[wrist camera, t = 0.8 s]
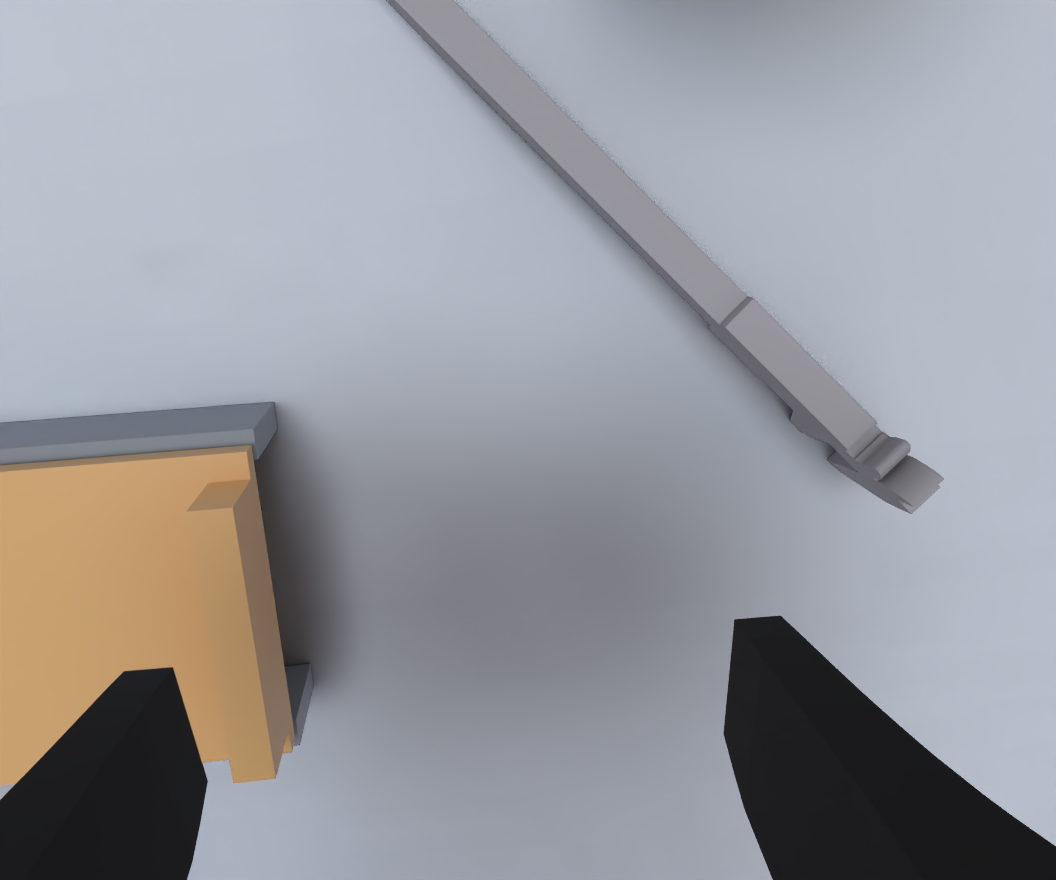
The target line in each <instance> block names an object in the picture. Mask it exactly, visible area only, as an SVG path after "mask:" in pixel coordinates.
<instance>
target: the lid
mask: <svg viewBox="0 0 1056 880" xmlns="http://www.w3.org/2000/svg"><path fill="white" fill-rule="evenodd" d="M168 667H173V669H174V672H175V675H176V679H177V682H178V685H179V689H180V692H181V695H182V698H183V702H184V705H185V708H186V712H187V715H188V718H189V721H190V725H191V728H192V731H193V735H194V738H195V741H196V744H197V748H198V751H199V754H200V758H201V761H202V763H203V762H212V761H221V760H229V761H230V767H231V772H232V778H233V783H240V782H249V781H257V780H266V779H275V778H276V775H277V771H278V768H279V764H280V760H281V756H282V753H290V752H292V750H293V746H294V742H295V734H294V727H293V720H292V714H291V707H290V700H289V694H288V687H287V680H286V673H285V667H284V660H283V653H282V647H281V640H280V633H279V626H278V620H277V613H276V606H275V600H274V593H273V586H272V580H271V573H270V566H269V559H268V553H267V546H266V539H265V533H264V526H263V519H262V512H261V506H260V499H259V492H258V486H257V479H256V472H255V465H254V459H253V452H252V445H244V446H232V447H220V448H208V449H195V450H183V451H171V452H158V453H146V454H134V455H122V456H109V457H97V458H85V459H72V460H60V461H48V462H35V463H23V464H11V465H0V786H3V785H11V784H16V783H17V782H18V781H19V780H20V779H21V778H22V777H23V776H24V775H25V774H26V773H27V772H28V771H29V770H30V769H31V768H32V767H33V766H34V765H35V764H36V763H37V762H38V761H39V759H40V758H41V757H42V756H43V755H44V754H45V753H46V752H47V751H48V750H49V749H50V748H51V747H52V746H53V745H54V744H55V743H56V742H57V741H58V739H59V738H60V737H61V736H62V735H63V734H64V733H65V732H66V731H67V730H68V729H69V728H70V727H71V726H72V725H73V724H74V723H75V722H76V720H77V719H78V718H79V717H80V716H81V715H82V714H83V713H84V712H85V711H86V710H87V709H88V708H89V707H90V706H91V705H92V704H93V703H94V701H95V700H96V699H97V698H98V697H99V696H100V695H101V694H102V693H103V692H104V691H105V690H106V689H107V688H108V687H109V686H110V685H111V684H112V683H113V682H114V681H115V680H116V679H117V678H118V677H119V676H120V675H121V674H122V673H123V672H124V671H132V670H144V669H156V668H168Z"/></svg>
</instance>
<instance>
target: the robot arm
mask: <svg viewBox="0 0 1056 880" xmlns="http://www.w3.org/2000/svg"><path fill="white" fill-rule="evenodd" d="M724 737H725V740H726V744H727V748H728V752H729V755H730V759H731V763H732V767H733V770H734V774H735V778H736V781H737V785H738V788H739V792H740V795H741V799H742V802H743V805H744V809H745V811H746V814H747V816H748V819H749V821H750V824H751V827H752V829H753V832H754V834H755V837H756V839H757V842H758V844H759V847H760V849H761V851H762V854H763V856H764V859H765V861H766V864H767V866H768V869H769V871H770V874H771V876H772V879H773V880H1056V846H1054V845H1053V844H1051V843H1050V842H1049V841H1047V840H1046V839H1044V838H1043V837H1041V836H1040V835H1039V834H1037V833H1036V832H1034V831H1033V830H1031V829H1030V828H1029V827H1027V826H1026V825H1024V824H1023V823H1021V822H1020V821H1019V820H1017V819H1016V818H1014V817H1013V816H1012V815H1010V814H1009V813H1007V812H1006V811H1005V810H1003V809H1002V808H1001V807H999V806H998V805H997V804H995V803H994V802H993V801H991V800H990V799H989V798H987V797H986V796H985V795H983V794H982V793H981V792H979V791H978V790H977V789H976V788H974V787H973V786H972V785H971V784H969V783H968V782H967V781H966V780H964V779H963V778H962V777H961V776H959V775H958V774H957V773H956V772H954V771H953V770H952V769H951V768H949V767H948V766H947V765H945V764H944V763H943V762H942V761H940V760H939V759H938V758H937V757H936V756H934V755H933V754H932V753H931V752H930V751H928V750H927V749H926V748H925V747H924V746H922V745H921V744H920V743H919V742H918V741H916V740H915V739H914V738H913V737H912V736H911V735H910V734H909V733H907V732H906V731H905V730H904V729H903V728H902V727H901V726H899V725H898V724H897V723H896V722H895V721H894V720H893V719H891V718H890V717H889V716H888V715H887V714H886V713H885V712H883V711H882V710H881V709H880V708H879V707H878V706H877V705H876V704H874V703H873V702H872V701H871V700H870V699H869V698H868V697H867V696H866V695H865V694H863V693H862V692H861V691H860V690H859V689H858V688H857V687H856V686H855V685H854V684H853V683H852V682H850V681H849V680H848V679H847V678H846V677H845V676H844V675H843V674H842V673H841V672H840V671H839V670H838V669H837V668H835V667H834V666H833V665H832V664H831V663H830V662H829V661H828V660H827V659H826V658H825V657H824V656H823V655H822V654H821V653H820V652H819V651H818V650H816V649H815V648H814V647H813V646H812V645H811V644H810V643H809V642H808V641H807V640H806V639H805V638H804V637H803V636H802V635H801V634H800V633H799V632H797V631H796V630H795V629H794V628H793V627H792V626H791V625H790V624H789V623H788V622H787V621H786V620H785V619H783V618H782V617H781V616H771V617H759V618H747V619H735V620H734V631H733V641H732V652H731V662H730V673H729V683H728V694H727V704H726V714H725V725H724ZM207 782H208V781H207V777H206V774H205V771H204V767H203V764H202V761H201V758H200V754H199V751H198V748H197V744H196V741H195V738H194V735H193V731H192V728H191V725H190V721H189V718H188V715H187V712H186V708H185V705H184V702H183V698H182V695H181V692H180V689H179V685H178V682H177V679H176V675H175V672H174V669H173V667H168V668H156V669H144V670H132V671H124V672H123V673H122V674H121V675H120V676H119V677H118V678H117V679H116V680H115V681H114V682H113V683H112V684H111V685H110V686H109V687H108V688H107V689H106V690H105V691H104V692H103V693H102V694H101V695H100V696H99V697H98V698H97V699H96V700H95V701H94V703H93V704H92V705H91V706H90V707H89V708H88V709H87V710H86V711H85V712H84V713H83V714H82V715H81V716H80V717H79V718H78V719H77V720H76V722H75V723H74V724H73V725H72V726H71V727H70V728H69V729H68V730H67V731H66V732H65V733H64V734H63V735H62V736H61V737H60V738H59V739H58V741H57V742H56V743H55V744H54V745H53V746H52V747H51V748H50V749H49V750H48V751H47V752H46V753H45V754H44V755H43V756H42V757H41V758H40V759H39V761H38V762H37V763H36V764H35V765H34V766H33V767H32V768H31V769H30V770H29V771H28V772H27V773H26V774H25V775H24V776H23V777H22V778H21V779H20V780H19V781H18V782H17V783H16V784H15V785H14V786H13V787H12V788H11V789H10V790H9V791H8V792H7V793H6V794H5V795H4V796H3V797H2V798H1V799H0V880H187V877H188V874H189V871H190V868H191V864H192V860H193V856H194V851H195V846H196V841H197V836H198V831H199V826H200V821H201V815H202V810H203V804H204V799H205V793H206V787H207Z"/></svg>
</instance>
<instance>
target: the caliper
mask: <svg viewBox="0 0 1056 880" xmlns="http://www.w3.org/2000/svg"><path fill="white" fill-rule="evenodd" d="M386 1H387V2H388V3H389V4H390V5H391V6H392V7H393V8H394V9H395V10H396V11H397V12H398V13H399V14H400V15H401V16H402V17H403V18H404V20H405V21H406V22H407V23H408V24H409V25H410V26H411V27H412V28H413V29H414V30H415V31H416V32H417V33H418V34H419V35H420V36H421V37H422V38H423V39H424V40H425V41H426V42H427V43H428V44H429V45H430V46H431V47H432V48H433V49H434V50H435V51H436V52H437V53H438V54H439V55H440V56H441V57H442V58H443V59H444V60H445V61H446V62H447V63H448V64H449V65H450V66H451V67H452V68H453V69H454V70H455V71H456V72H457V73H458V74H459V75H460V76H461V77H462V78H463V79H464V80H465V81H466V82H467V83H468V84H469V85H470V86H471V87H472V88H473V89H474V90H475V91H476V92H477V93H478V94H479V95H480V96H481V97H482V98H483V99H484V100H485V101H486V102H487V103H488V104H489V105H490V106H491V107H492V108H493V109H494V110H495V111H496V112H497V113H498V114H499V115H500V116H501V117H502V118H503V119H504V120H505V121H506V122H507V123H508V124H509V125H510V126H511V127H512V128H513V129H514V130H515V131H516V132H517V133H518V134H519V135H520V136H521V137H522V138H523V139H524V140H525V141H526V142H527V143H528V144H529V145H530V146H531V147H532V148H533V149H534V150H535V151H536V152H537V153H538V154H539V155H540V156H541V157H542V158H543V159H544V160H545V161H546V162H547V163H548V164H549V165H550V166H551V167H552V168H553V169H554V170H555V171H556V172H557V173H558V174H559V175H560V176H561V177H562V178H563V179H564V180H565V181H566V182H567V183H568V184H569V185H570V186H571V187H572V188H573V189H574V190H575V191H576V192H577V193H578V194H579V195H580V196H581V197H582V198H583V199H584V200H585V201H586V202H587V203H588V204H589V205H590V206H591V207H592V208H593V209H594V210H595V211H596V212H597V213H598V214H599V215H600V216H601V217H602V218H603V219H604V220H605V221H606V222H607V223H608V224H609V225H610V226H611V227H612V228H613V229H614V230H615V231H616V232H617V233H618V234H619V235H620V236H621V237H622V238H623V239H624V240H625V241H626V242H627V243H628V244H629V245H630V246H631V247H632V248H633V249H634V250H635V251H636V252H637V253H638V254H639V255H640V256H641V257H642V258H643V259H644V260H645V261H646V262H647V263H648V264H649V265H650V266H651V267H652V268H653V269H654V270H655V271H656V272H657V273H658V274H659V275H660V276H661V277H662V278H663V279H664V280H665V281H666V282H667V283H668V284H669V285H670V286H671V287H672V288H673V289H674V290H675V291H676V292H677V293H678V294H679V295H680V296H681V297H682V298H683V299H684V300H685V301H686V302H687V303H688V304H689V305H690V306H691V307H692V308H693V309H694V310H695V311H696V312H697V313H698V314H699V315H700V316H701V317H702V318H703V319H704V320H705V321H706V322H707V323H708V324H709V326H708V328H709V329H710V330H711V332H712V333H713V334H714V335H715V336H717V337H718V338H719V339H720V340H721V341H722V342H723V343H724V344H725V345H726V346H727V347H728V348H729V349H730V350H731V351H732V352H733V353H734V354H735V355H736V356H737V357H738V358H739V359H740V360H741V361H742V362H743V363H744V364H745V365H746V366H747V367H748V368H749V369H750V370H751V371H752V372H753V373H754V374H755V375H756V376H757V377H758V378H760V379H761V380H762V381H763V382H764V383H765V384H766V385H767V386H768V387H769V388H770V389H771V390H773V391H774V392H775V393H776V394H777V395H778V396H779V397H780V398H781V399H782V400H783V401H784V402H785V403H786V404H787V405H788V406H789V407H790V408H791V409H792V410H793V413H792V416H791V419H790V421H791V423H792V424H793V425H794V426H795V427H796V428H797V429H798V430H799V431H800V432H802V433H805V434H806V435H808V436H810V437H812V438H815V439H818V440H820V441H823V442H824V441H825V442H827V443H829V444H830V445H831V446H832V447H833V448H834V449H835V450H836V451H835V452H834V453H833V454H832V455H831V456H830V457H829V458H828V459H827V460H828V461H829V462H830V463H831V464H832V465H833V466H835V467H836V468H837V469H838V470H839V471H840V472H842V473H843V474H844V475H846V476H847V477H849V478H850V479H852V480H853V481H855V482H856V483H858V484H859V485H861V486H862V487H864V488H865V489H867V490H868V491H870V492H871V493H873V494H874V495H876V496H877V497H879V498H880V499H882V500H884V501H885V502H887V503H889V504H891V505H893V506H895V507H897V508H899V509H902V510H904V511H906V512H908V513H910V514H912V513H913V512H914V511H915V510H917V509H918V508H919V507H920V506H921V505H922V504H923V503H924V502H925V501H926V500H927V499H928V498H929V497H930V496H932V495H933V494H934V493H935V492H936V491H937V490H938V489H939V488H940V486H939V485H938V484H939V483H940V482H941V481H943V480H944V478H943V477H942V476H941V475H939V474H938V473H937V472H935V471H934V470H933V469H931V468H930V467H928V466H927V465H925V464H923V463H922V462H920V461H918V460H917V459H915V458H913V457H911V456H908V455H907V454H908V453H909V452H910V444H909V443H908V442H907V441H906V440H903V439H900V438H896V437H890V436H888V435H887V434H886V433H885V432H882V431H881V430H880V429H879V428H878V427H877V426H876V424H877V422H876V421H875V420H874V419H873V418H872V417H871V416H870V415H869V413H868V412H867V411H866V410H865V409H864V408H863V407H862V406H861V405H860V404H859V403H858V402H857V401H856V400H855V399H854V398H853V397H852V396H851V395H850V394H849V393H848V392H847V391H846V390H845V389H844V388H843V387H842V386H841V385H840V384H839V383H838V382H837V381H836V380H835V379H834V378H833V377H832V376H831V375H830V374H829V373H828V372H827V371H826V370H825V369H824V368H823V367H822V366H821V365H820V364H819V363H818V362H817V361H816V360H815V359H814V358H813V357H812V356H811V355H810V354H809V353H808V352H807V351H806V350H805V349H804V348H803V347H802V346H801V345H800V344H799V343H798V342H797V341H796V340H795V339H794V338H793V337H792V336H791V335H790V334H789V333H788V332H787V331H786V330H785V329H784V328H783V327H782V326H781V325H780V324H779V323H778V322H777V321H776V320H775V319H774V318H773V317H772V316H771V315H770V314H769V313H768V312H767V311H766V310H765V309H764V308H763V307H762V306H761V305H760V304H759V303H758V302H757V301H756V300H755V299H754V298H752V297H750V296H747V295H746V294H745V293H744V292H743V291H742V290H741V289H740V288H739V287H738V286H737V285H736V284H735V283H734V282H733V281H732V280H731V279H730V278H729V277H728V276H727V275H726V274H725V273H724V272H723V271H722V270H721V269H720V268H719V267H718V266H717V265H716V264H715V263H714V262H713V261H712V260H711V259H710V258H709V257H708V256H707V255H706V254H705V253H704V252H703V251H702V250H701V249H700V248H699V247H698V246H697V245H696V244H695V243H694V242H693V241H692V240H691V239H690V238H689V237H688V236H687V235H686V234H685V233H684V232H683V231H682V230H681V229H680V228H679V227H678V226H677V225H676V224H675V223H674V222H673V221H672V220H671V219H670V218H669V217H668V216H667V215H666V214H665V213H664V212H663V211H662V210H661V209H660V208H659V207H658V206H657V205H656V204H655V203H654V202H653V201H652V200H651V199H650V198H649V197H648V196H647V195H646V194H645V193H644V192H643V191H642V190H641V189H640V187H639V186H638V185H637V184H636V183H635V182H634V181H633V180H632V179H631V178H630V177H629V176H628V175H627V174H626V173H625V172H624V171H623V170H622V169H621V168H620V167H619V166H618V165H617V164H616V163H615V162H614V161H613V160H612V159H611V158H610V157H609V156H608V155H607V154H606V153H605V152H604V151H603V150H602V149H601V148H600V147H599V146H598V145H597V144H596V143H595V142H594V141H593V140H592V139H591V138H590V137H589V136H588V135H587V134H586V133H585V132H584V131H583V130H582V129H581V128H580V127H579V126H578V125H577V124H576V123H575V122H574V121H573V120H572V119H571V118H570V117H569V116H568V115H567V114H566V113H565V112H564V111H563V110H562V109H561V108H560V107H559V106H558V105H557V104H556V103H555V102H554V101H553V100H552V99H551V98H550V97H549V96H548V95H547V94H546V93H545V92H544V91H543V90H542V89H541V88H540V87H539V86H538V85H537V84H536V83H535V82H534V81H533V80H532V79H531V78H530V77H529V76H528V75H527V74H526V73H525V72H524V71H523V70H522V69H521V67H520V66H519V65H518V64H517V63H516V62H515V61H514V60H513V59H512V58H511V57H510V56H509V55H508V54H507V53H506V52H505V51H504V50H503V49H502V48H501V47H500V46H499V45H498V44H497V43H496V42H495V41H494V40H493V39H492V38H491V37H490V36H489V35H488V34H487V33H486V32H485V31H484V30H483V29H482V28H481V27H480V26H479V25H478V24H477V23H476V22H475V21H474V20H473V19H472V18H471V17H470V16H469V15H468V14H467V13H466V12H465V11H464V10H463V9H462V8H461V7H460V6H459V5H458V4H457V3H456V2H455V1H454V0H386Z"/></svg>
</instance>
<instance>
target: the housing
mask: <svg viewBox="0 0 1056 880" xmlns="http://www.w3.org/2000/svg"><path fill="white" fill-rule="evenodd" d="M277 430H278V428H277V421H276V414H275V406H274V402H266V403H253V404H240V405H227V406H214V407H201V408H188V409H175V410H162V411H149V412H136V413H123V414H110V415H97V416H84V417H71V418H58V419H45V420H32V421H19V422H6V423H0V465H11V464H23V463H35V462H48V461H60V460H72V459H85V458H97V457H109V456H122V455H134V454H146V453H158V452H171V451H183V450H195V449H208V448H220V447H232V446H244V445H252V452H253V459H254V460H258V458H259V457H260V455H261V454H262V452H263V451H264V449H265V448H266V446H267V445H268V443H269V442H270V440H271V439H272V437H273V436H274V434H275V433H276V431H277ZM284 667H285V673H286V680H287V687H288V694H289V700H290V707H291V714H292V720H293V727H294V734H295V742H294V746H297V745H300V742H301V738H302V734H303V729H304V725H305V721H306V717H307V712H308V708H309V704H310V699H311V695H312V691H313V687H314V686H313V679H312V672H311V664H301V665H292V666H284ZM14 785H15V784H11V785H3V786H0V799H1V798H2V797H3V796H4V795H5V794H6V793H7V792H8V791H9V790H10V789H11V788H12V787H13V786H14Z"/></svg>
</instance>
